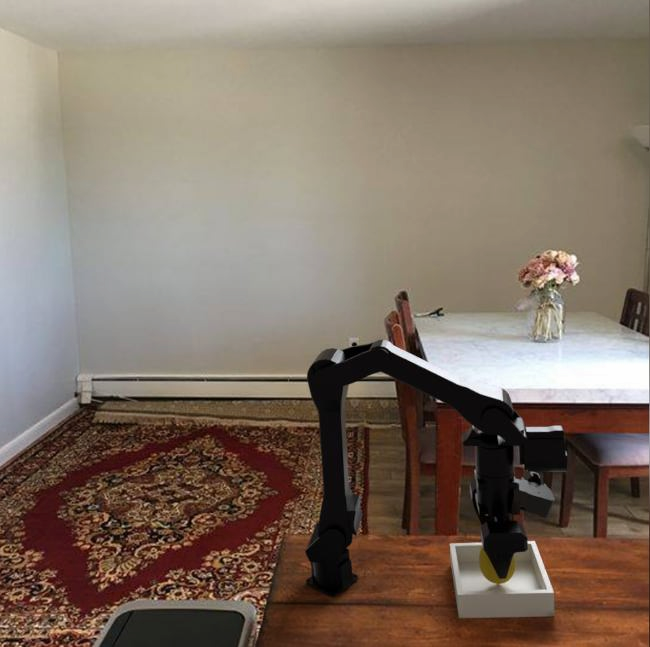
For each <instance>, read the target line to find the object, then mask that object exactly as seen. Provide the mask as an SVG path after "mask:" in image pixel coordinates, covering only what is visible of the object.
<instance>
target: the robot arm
mask: <svg viewBox="0 0 650 647" xmlns="http://www.w3.org/2000/svg"><path fill="white" fill-rule="evenodd" d="M307 370H308V371H307V374H306V381H307V385H308V390H309V393H310V396H311V400H312V401H313V404H314V406H315V409H316V410H317V414H318V424H319V425H318V426H319V438H320V440H319V441H320V443H319V444H320V455H321V460H320V461H321V471H322V487H323V488H322V489H323V490H322V491H323V495H322V502H321V507H320V511H319V517H318V522H317V523H316V524H315V526H314V529H313V530H312V534H311V537H310V539H309V541H308V544H307V545H306V548H305V551H304V553H305V554H306V557H307V559H308V562H310V567H311V576H310V577H309V578H307V579H306V580H305V584H306V585H308V586H309V587H311V588H312V589H315V590H317V591H319V592H321V593H323V594H325V595H327V596H329V597H336V596H337V595H339V594H340V593H341V592H342V591H345V589H347V588H348V587H349V586H351V585H352V584H353V583H354V582H356V581H357V580H359V577H358V576H359V575H357V574H356V573H354V572H353V568H352V566H353V565H352V560H351V558H350V549H348V548H349V547H350V546H352V543H353V539H354V536H355V537H357V535H358V533H359V529H360V524H361V522H362V517H363V511H362V510H361V501H362V500H361V498H362V494H360V493H357V494H354V493H353V492H352V490H351V487H350V483H349V482H350V481H349V462H348V459H349V458H348V444H347V443H348V442H347V429H346V428H347V424H346V422H347V421H346V402H347V396H348V390H349V386H350V385H352V384H354V383H356V382H358V381H360V380H363V379H365V378H367V377H370V376H372V375H374V374H378V373H383V374H384V375H387V376H389V377H391V378H392V379H395V380H397V381H399V382H401V383H403V384H405V385H407V386H409V387H411V388H412V389H416V390H417V391H418V392H421V393H423V394H425V395H428V396H429V397H431V398H434V399H435V400H438V401H440V402H442V403H443V404H445V405H448V406H449V407H451V408H452V409H453V410H455V411H456V413H458V414H459V415H460V416H461V418H462V419H463V420H465V421H466V422H467V423H468V424H471V426H470V427H469V429H468V430H465V432H463V433H462V437H461V438H462V440H461V441H462V446H464V447H474V456H475V469H474V471H473V472H474V477H473V479H471V481H470V482H469V493H470V497H471V502H472V506H473V509H474V510H475V513H476V516H477V517H478V520H479V522H480V524H481V526H480V527H479V528H480V541H481V543H482V546H483V550H484V552H485V553H486V554H487V556H488V558H489V560H490V562H491V564H492V566H493V568H494V570H495V572H496V574H497V576H498V578H499V579H506V578H507V574H508V571H509V567H510V564H511V561H512V558H513V555H514V554H515V553H516V552H525V551H527V550H528V541H529V540H528V535H527V533H526V530H525V527H524V525H523V524H522V523H521V522H519V521H518V520H512V518H511V515H512V516H520V515H521V511H523V512H526V513H530V514H534V515H537V516H539V517H540V518H543V519H548V518H549V516H550V514H551V511H552V508H553V506H554V504H555V501H556V498H555V496H554V494H553V492H552V490H551V488H549V486H547V484H546V483H543V484H542V478H541V476H540V474H539V472H541V473H543V472H544V473H568V472H567V471H568V452H567V450H566V442H565V431H564V428H563V426H562V425H550V426H525V420H524V419H523V417H522V416H520V415H519V412H517V411H516V410H515V409H514V407H513V402H512V398H511V395H510V394H509V392H508V391H507V390H505V389H504V388H503V387H501V386H497V385H494V384H490V383H488V382H485V381H481V380H473V379H467V378H464V377H463V378H462V377H459V376H457V375H455V374H453V373H450V372H449V371H447V370H446V369H443V368H442V367H439V366H437V365H435V364H433V363H430V362H428V361H426V360H424V359H422V358H420V357H418V356H416V355H415V354H413V353H410V352H408V351H406V350H404V349H403V348H399V347H397V346H395V345H394V344H393V343H392V342H390V341H389V340H386V339H378V340H376V341H373V342H370V343H365V344H359V345H352V346H350V347H349V346H348V347H346V348H344V349H343V348H342V349H339V348H334V347H333V348H332V347H331V348H326V349H323V350H322V351H320V353H319V354H318V355H317V356H316V358H315V359H314V361H313V362H312V363H311V365H310V366H309V368H308V369H307ZM515 447H517V455H518V456H517V457H518V465H520V466H523V470H524V471H526V472H527V473H526V474H525V475H523V477H520V479H519V478H516V473H515ZM510 514H511V515H510Z"/></svg>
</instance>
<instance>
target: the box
mask: <svg viewBox="0 0 650 647" xmlns="http://www.w3.org/2000/svg"><path fill="white" fill-rule="evenodd" d="M481 548H482V542H457V543H456V542H454V543H449V552H450V553H449V554H450V556H449V557H450V567H451V575H452V580H453V588H454V595H455V602H456V608H457V615H458V616H457V617H458V619H479V618H480V619H482V618H483V619H485V618H487V619H489V618H530V617H531V618H535V617H537V618H539V617H545V618H546V617H547V618H548V617H555V592H554V588H553V586H552V583H551V581H550V578H549V576H548V573H547V571H546V567H545V565H544V563H543V562H544V561H543V560H542V557H541V554H540V551H539V548H538V546H537V543H536V541H535V540H528V550H527V551H525V552H516V553H515V554H514V558H515V571H514V574H513V576H512V577H511V579H510V580H509V581H507V582H505V583H502V584H495V583H492V582H490V581H488V580H487V579H486V578H485V577H484V575H483V574H482V572H481V569H480V565H479V554H480V551H481Z"/></svg>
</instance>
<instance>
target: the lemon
mask: <svg viewBox="0 0 650 647" xmlns="http://www.w3.org/2000/svg"><path fill="white" fill-rule="evenodd" d="M479 565H480V569H481V572H482V574H483V575H484V577H485V578H486V579H487V580H488V581H490V582H492V583H495V584H502V583H505V582H507V581H509V580H510V579H511V577H512V576H513V574H514V571H515V558H514V555H513V558H512V561H511V564H510V567H509V571H508V574H507V578H506V579H499V578H498V576H497V574H496V572H495V570H494V568H493V566H492V564H491V562H490V560H489V558H488V556H487V554H486V553H485V552H484V550H483V546H482V548H481V551H480V554H479Z"/></svg>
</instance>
